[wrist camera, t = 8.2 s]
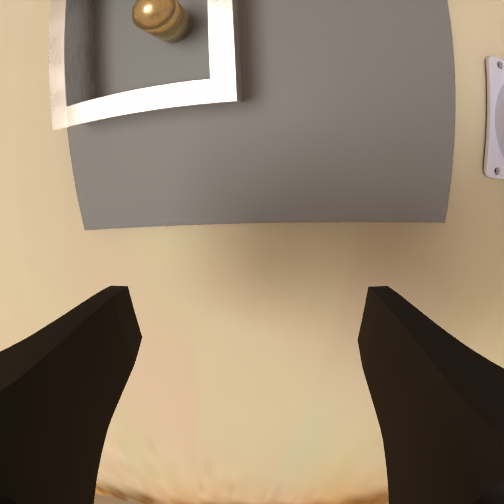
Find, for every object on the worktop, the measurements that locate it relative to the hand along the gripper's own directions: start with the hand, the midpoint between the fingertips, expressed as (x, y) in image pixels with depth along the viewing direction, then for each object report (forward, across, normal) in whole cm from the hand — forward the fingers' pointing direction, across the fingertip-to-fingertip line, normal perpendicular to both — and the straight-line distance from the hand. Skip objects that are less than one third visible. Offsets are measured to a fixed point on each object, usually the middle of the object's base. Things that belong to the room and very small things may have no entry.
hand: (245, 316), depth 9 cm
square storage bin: (+9, +5, -10) cm, 14 cm away
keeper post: (+9, +4, -11) cm, 15 cm away
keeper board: (+9, 0, -11) cm, 14 cm away
